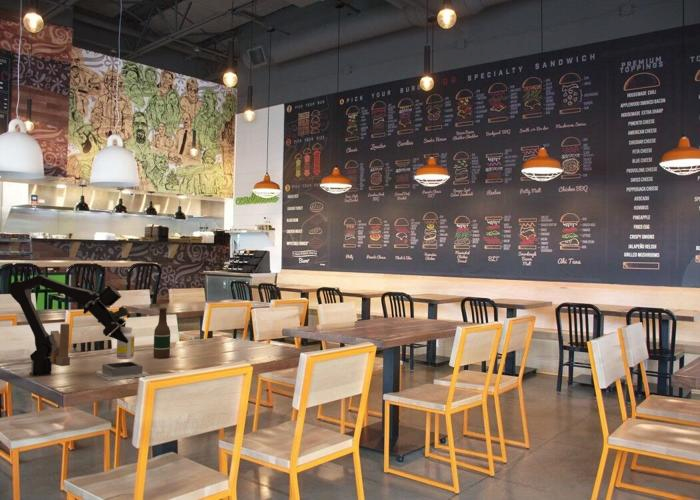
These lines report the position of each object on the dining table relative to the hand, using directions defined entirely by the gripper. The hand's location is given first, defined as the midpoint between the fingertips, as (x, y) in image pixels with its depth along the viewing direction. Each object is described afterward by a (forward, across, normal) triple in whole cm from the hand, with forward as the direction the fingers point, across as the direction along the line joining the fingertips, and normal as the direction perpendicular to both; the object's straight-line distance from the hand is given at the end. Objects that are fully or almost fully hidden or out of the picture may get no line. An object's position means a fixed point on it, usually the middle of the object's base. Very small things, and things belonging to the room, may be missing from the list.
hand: (129, 341), depth 246 cm
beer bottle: (+16, +39, +3) cm, 42 cm away
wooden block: (-13, +23, +33) cm, 42 cm away
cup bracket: (+8, -4, +10) cm, 14 cm away
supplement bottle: (+4, 0, +6) cm, 7 cm away
